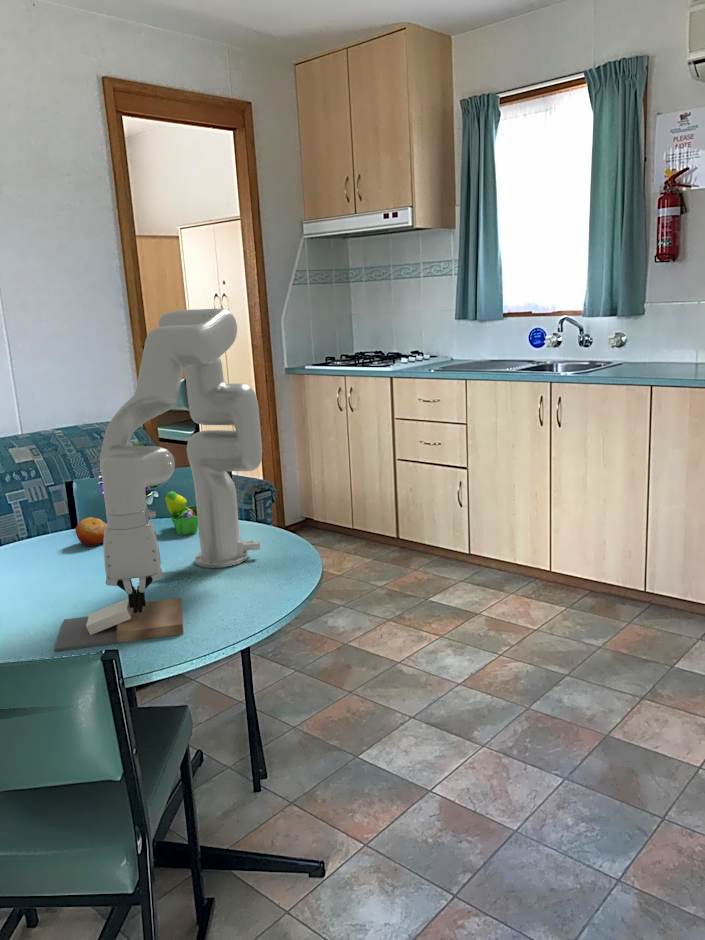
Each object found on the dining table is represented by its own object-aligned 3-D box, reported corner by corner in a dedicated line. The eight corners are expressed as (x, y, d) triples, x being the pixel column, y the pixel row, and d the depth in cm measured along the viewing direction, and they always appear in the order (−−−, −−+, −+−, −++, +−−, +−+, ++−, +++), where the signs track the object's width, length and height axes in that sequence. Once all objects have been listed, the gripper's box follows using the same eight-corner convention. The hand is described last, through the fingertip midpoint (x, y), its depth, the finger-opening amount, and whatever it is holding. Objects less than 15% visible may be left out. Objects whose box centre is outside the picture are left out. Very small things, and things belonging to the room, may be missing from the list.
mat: (121, 614, 157) (121, 612, 157) (117, 642, 144) (117, 640, 144) (64, 621, 155) (64, 619, 155) (54, 651, 142) (54, 648, 142)
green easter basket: (201, 534, 210) (198, 493, 208) (168, 537, 208) (164, 496, 206) (200, 522, 221) (197, 484, 219) (169, 526, 219) (164, 487, 217)
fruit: (91, 531, 212) (98, 509, 208) (109, 549, 209) (115, 527, 205) (65, 539, 206) (71, 516, 202) (83, 558, 203) (89, 535, 199)
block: (132, 607, 154) (128, 598, 153) (131, 618, 148) (126, 609, 147) (93, 622, 153) (89, 614, 152) (90, 635, 147) (86, 626, 146)
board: (181, 606, 160) (180, 597, 160) (183, 633, 147) (182, 623, 146) (121, 614, 157) (120, 605, 157) (117, 642, 144) (116, 632, 144)
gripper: (168, 510, 152) (177, 598, 156) (88, 518, 149) (99, 608, 153) (168, 520, 145) (177, 612, 149) (84, 529, 142) (96, 623, 146)
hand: (138, 610), depth 151 cm, fingers closed
